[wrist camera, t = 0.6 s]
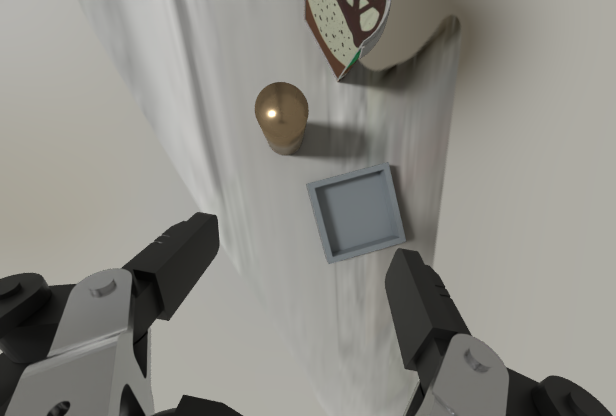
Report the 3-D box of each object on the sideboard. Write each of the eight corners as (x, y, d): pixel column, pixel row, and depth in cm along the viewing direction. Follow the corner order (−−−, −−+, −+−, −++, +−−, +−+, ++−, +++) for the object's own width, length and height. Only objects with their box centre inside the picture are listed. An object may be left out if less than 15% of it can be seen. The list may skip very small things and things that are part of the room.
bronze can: (263, 124, 31) (248, 89, 20) (297, 115, 32) (300, 76, 21) (272, 159, 32) (263, 143, 21) (306, 150, 32) (314, 129, 21)
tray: (306, 184, 32) (307, 183, 30) (381, 164, 33) (388, 162, 31) (325, 258, 34) (328, 264, 31) (397, 237, 34) (406, 241, 32)
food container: (379, 70, 32) (418, 16, 22) (342, 91, 32) (366, 46, 22) (336, -13, 31) (358, -110, 21) (298, 10, 30) (302, -78, 20)
